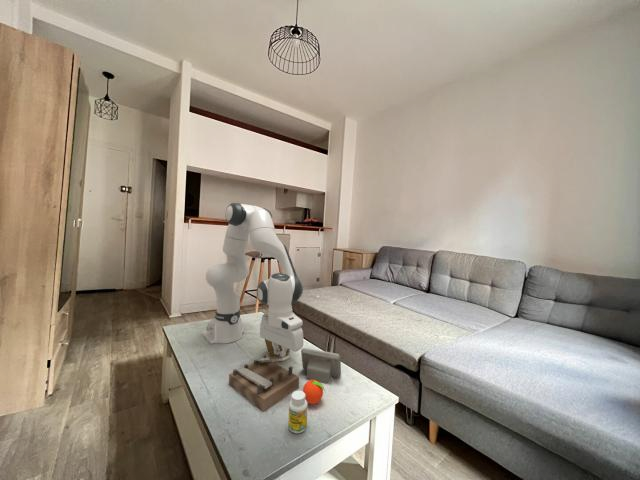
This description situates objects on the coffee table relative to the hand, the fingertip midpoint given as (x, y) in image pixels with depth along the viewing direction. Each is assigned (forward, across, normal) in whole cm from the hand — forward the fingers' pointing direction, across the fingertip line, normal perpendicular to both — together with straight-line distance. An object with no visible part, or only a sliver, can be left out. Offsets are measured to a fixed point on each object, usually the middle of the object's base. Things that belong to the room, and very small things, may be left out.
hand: (279, 355), depth 90 cm
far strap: (+3, -4, 0) cm, 5 cm away
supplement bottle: (+12, +18, -10) cm, 24 cm away
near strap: (+6, -4, -9) cm, 11 cm away
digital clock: (+12, +8, +15) cm, 20 cm away
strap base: (+11, -4, -4) cm, 12 cm away
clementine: (+12, +15, +2) cm, 19 cm away
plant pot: (+10, -15, +12) cm, 22 cm away
